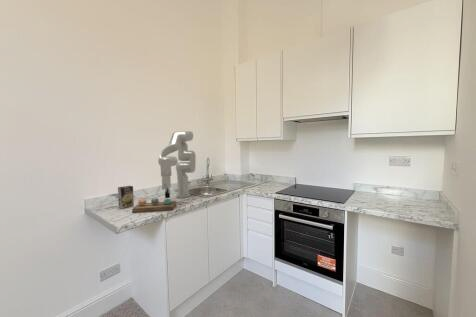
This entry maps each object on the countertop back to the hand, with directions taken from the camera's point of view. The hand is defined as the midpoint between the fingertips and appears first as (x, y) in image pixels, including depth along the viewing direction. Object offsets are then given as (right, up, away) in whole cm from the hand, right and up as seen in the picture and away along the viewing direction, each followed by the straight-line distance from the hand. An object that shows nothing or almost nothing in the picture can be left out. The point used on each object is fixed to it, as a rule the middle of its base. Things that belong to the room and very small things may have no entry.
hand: (167, 197), depth 158 cm
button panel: (-9, -8, -1) cm, 12 cm away
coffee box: (-34, -8, +5) cm, 35 cm away
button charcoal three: (-9, -4, -2) cm, 10 cm away
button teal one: (0, -5, 0) cm, 5 cm away
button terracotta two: (-18, -4, -3) cm, 18 cm away
